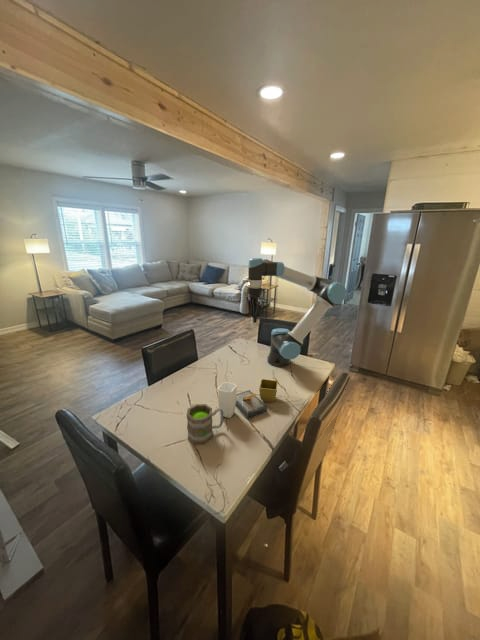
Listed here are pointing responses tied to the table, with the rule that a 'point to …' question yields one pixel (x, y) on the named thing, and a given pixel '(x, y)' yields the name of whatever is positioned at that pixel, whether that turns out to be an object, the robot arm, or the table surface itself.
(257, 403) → the panel
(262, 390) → the flower pot
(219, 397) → the cup
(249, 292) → the robot arm
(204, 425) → the mug
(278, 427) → the table surface
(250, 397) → the paddle
